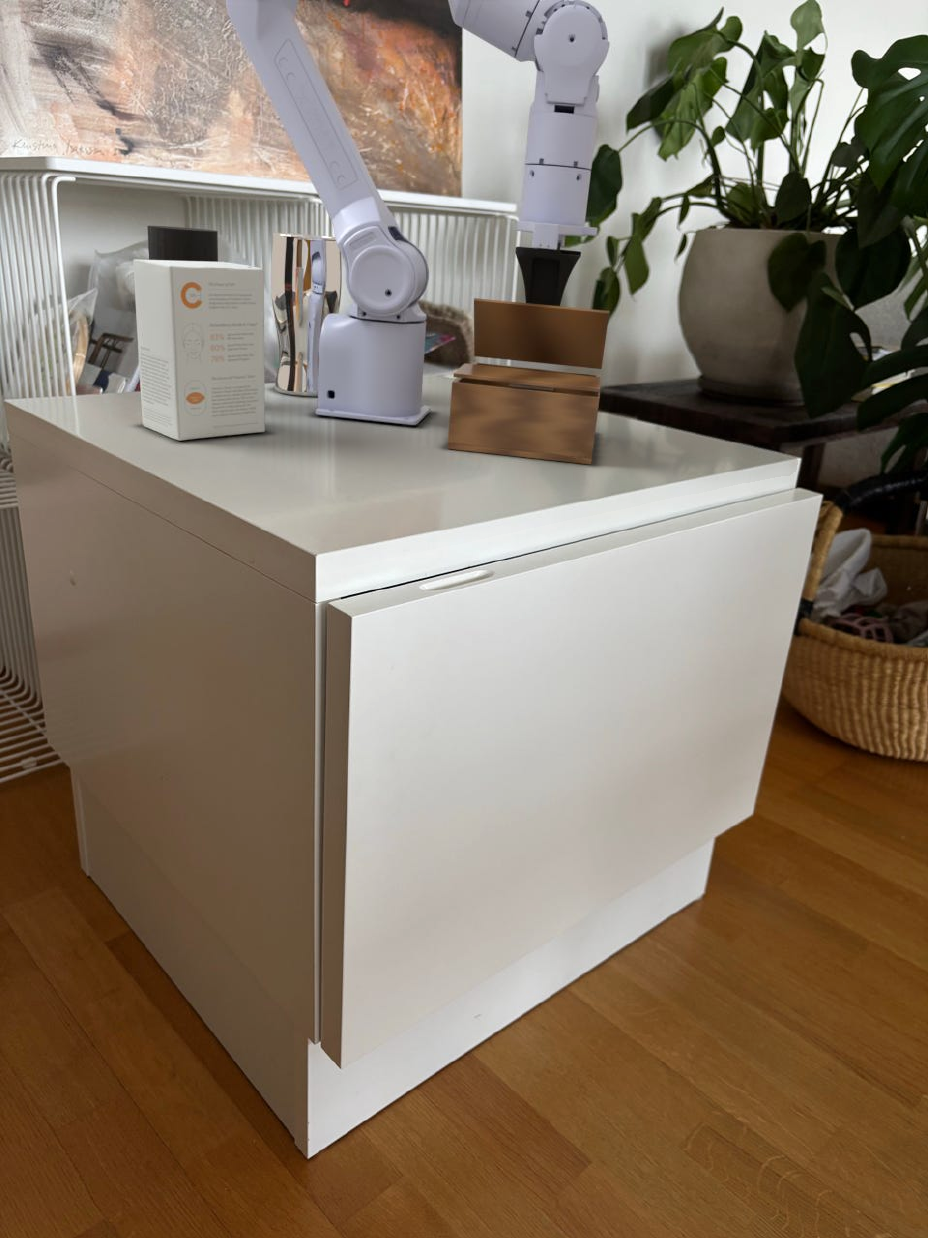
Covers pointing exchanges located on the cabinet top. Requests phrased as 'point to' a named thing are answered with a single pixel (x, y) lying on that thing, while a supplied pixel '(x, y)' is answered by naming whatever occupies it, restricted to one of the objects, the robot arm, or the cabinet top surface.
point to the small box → (200, 347)
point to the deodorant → (182, 244)
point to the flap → (540, 333)
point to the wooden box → (524, 412)
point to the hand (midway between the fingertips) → (540, 332)
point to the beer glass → (302, 305)
